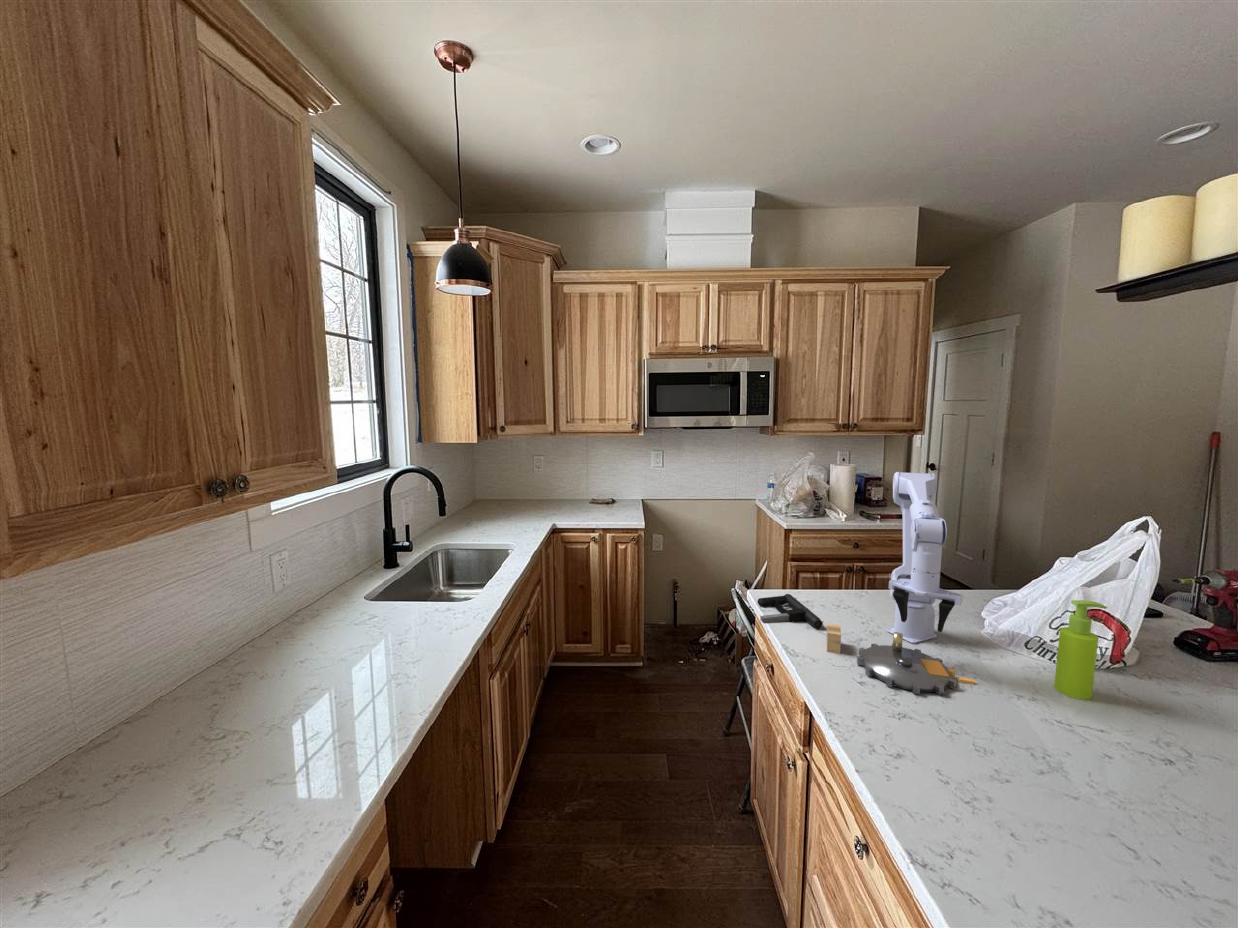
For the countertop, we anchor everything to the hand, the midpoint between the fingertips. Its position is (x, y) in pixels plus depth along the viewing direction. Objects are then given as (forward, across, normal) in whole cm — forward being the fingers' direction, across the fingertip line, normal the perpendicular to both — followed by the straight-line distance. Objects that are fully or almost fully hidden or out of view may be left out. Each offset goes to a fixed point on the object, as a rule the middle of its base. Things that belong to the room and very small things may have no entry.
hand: (921, 625), depth 114 cm
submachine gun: (+10, -36, +3) cm, 37 cm away
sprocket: (+9, -2, -6) cm, 12 cm away
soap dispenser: (+10, +27, +10) cm, 30 cm away
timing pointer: (+9, +10, -2) cm, 14 cm away
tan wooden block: (+10, -18, -6) cm, 21 cm away
